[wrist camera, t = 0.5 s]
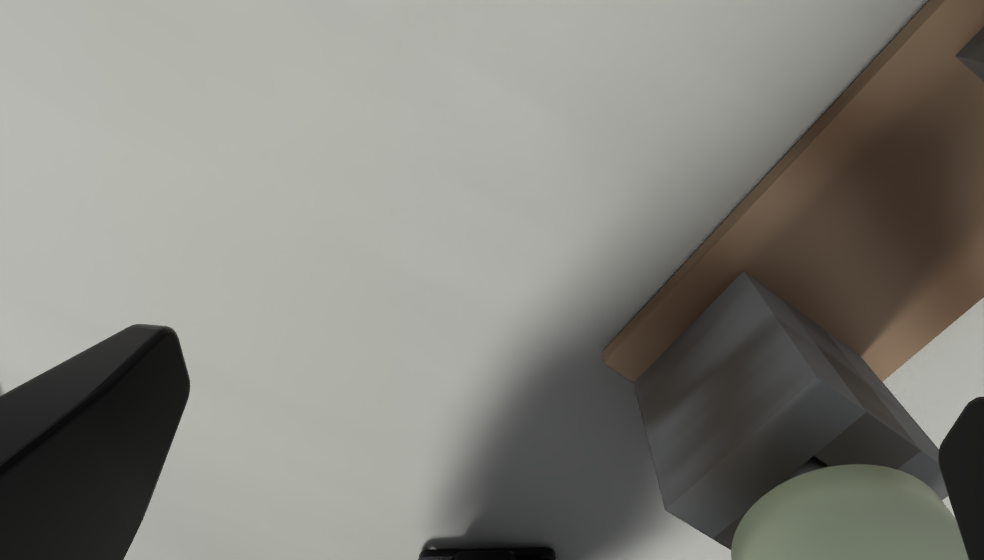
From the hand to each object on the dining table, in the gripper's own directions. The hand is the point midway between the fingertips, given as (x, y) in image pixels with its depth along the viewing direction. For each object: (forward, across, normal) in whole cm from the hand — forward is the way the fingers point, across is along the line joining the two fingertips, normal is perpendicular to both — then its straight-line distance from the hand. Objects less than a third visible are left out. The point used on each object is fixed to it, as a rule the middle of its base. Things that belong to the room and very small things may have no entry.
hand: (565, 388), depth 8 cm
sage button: (+9, -9, +11) cm, 17 cm away
